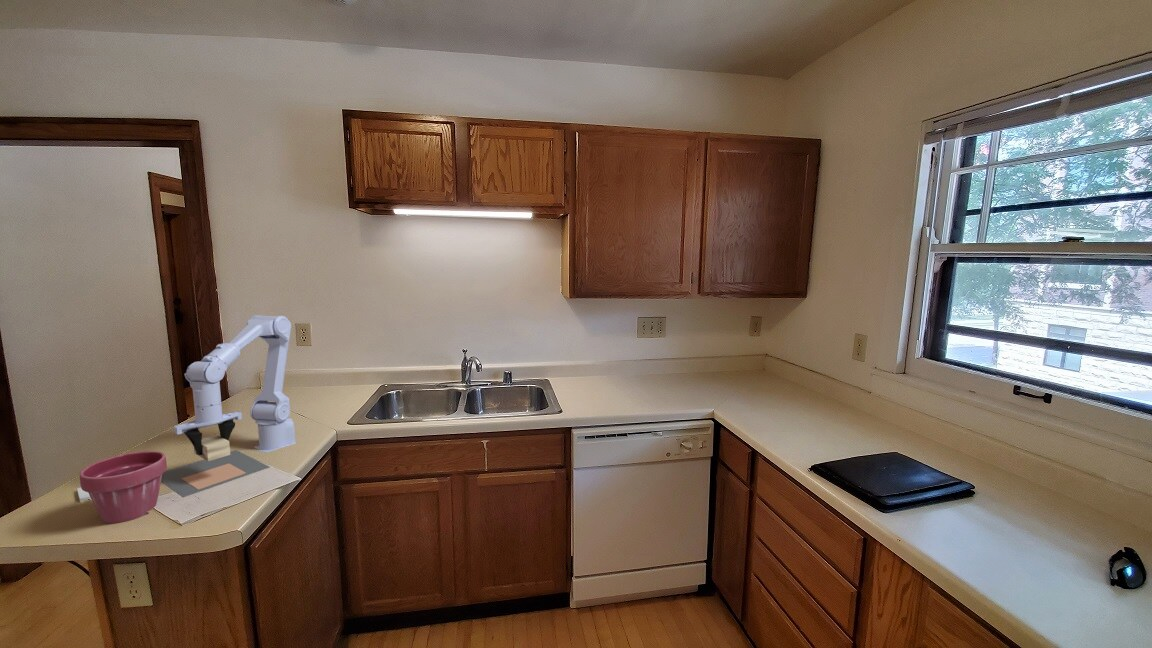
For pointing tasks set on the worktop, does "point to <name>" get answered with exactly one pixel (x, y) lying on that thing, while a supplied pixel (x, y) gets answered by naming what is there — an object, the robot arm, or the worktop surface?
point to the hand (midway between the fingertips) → (212, 450)
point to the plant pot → (124, 484)
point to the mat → (210, 473)
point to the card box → (214, 447)
